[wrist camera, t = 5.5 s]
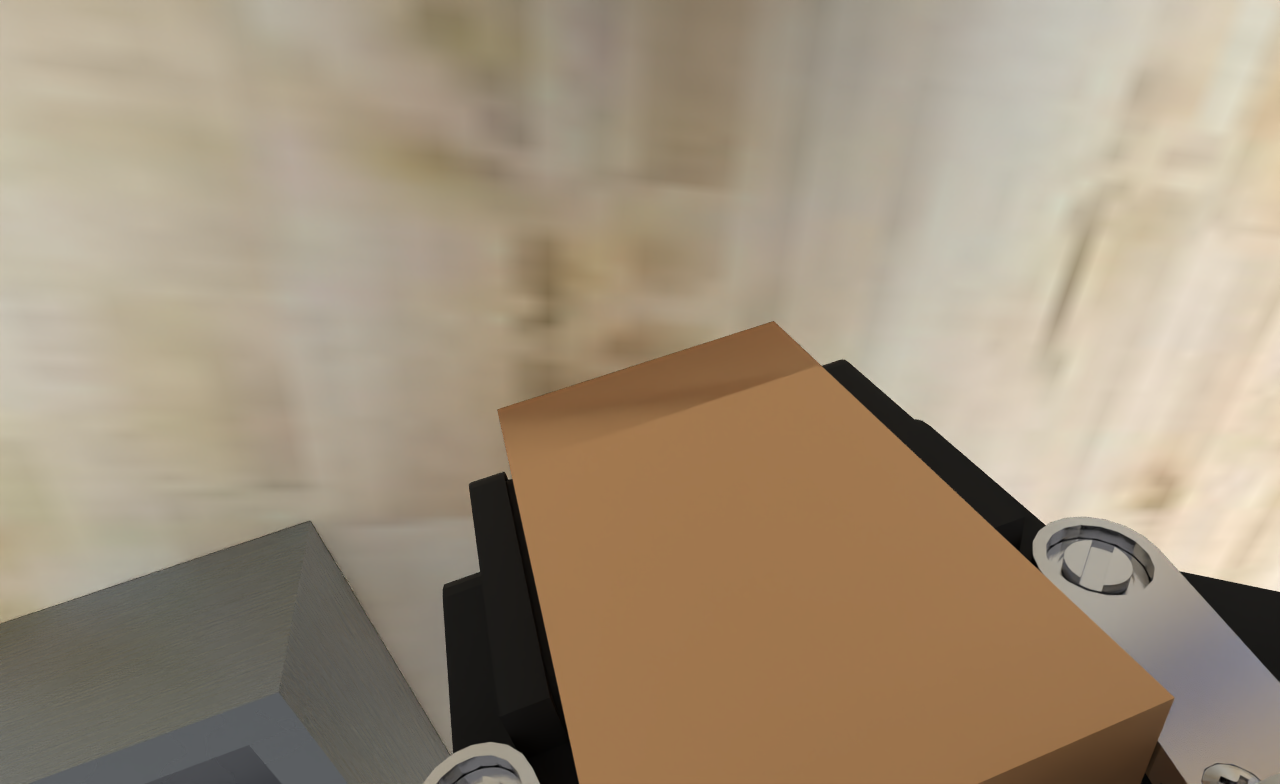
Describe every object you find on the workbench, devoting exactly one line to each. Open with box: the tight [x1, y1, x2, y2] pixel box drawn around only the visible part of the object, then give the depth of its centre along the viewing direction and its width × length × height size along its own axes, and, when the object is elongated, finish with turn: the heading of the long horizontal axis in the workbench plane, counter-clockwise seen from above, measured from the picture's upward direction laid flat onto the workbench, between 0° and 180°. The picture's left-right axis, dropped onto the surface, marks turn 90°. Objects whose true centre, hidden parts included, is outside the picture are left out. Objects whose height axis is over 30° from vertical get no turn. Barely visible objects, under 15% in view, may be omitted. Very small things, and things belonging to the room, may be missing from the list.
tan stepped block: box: [497, 321, 1175, 784], centre depth 10 cm, size 9×4×7 cm, turn 12°
